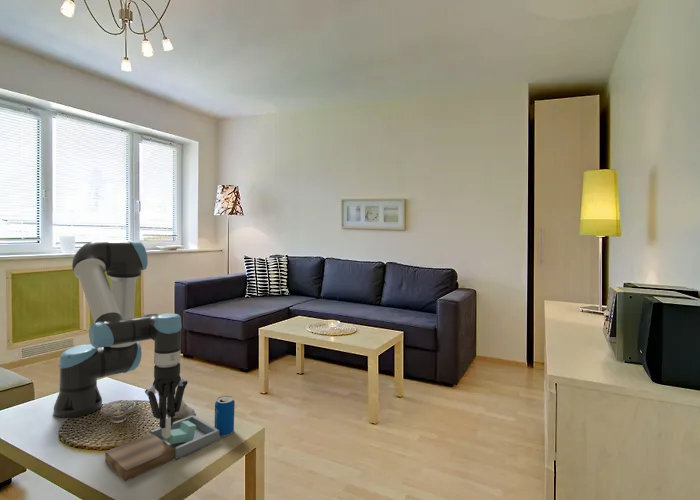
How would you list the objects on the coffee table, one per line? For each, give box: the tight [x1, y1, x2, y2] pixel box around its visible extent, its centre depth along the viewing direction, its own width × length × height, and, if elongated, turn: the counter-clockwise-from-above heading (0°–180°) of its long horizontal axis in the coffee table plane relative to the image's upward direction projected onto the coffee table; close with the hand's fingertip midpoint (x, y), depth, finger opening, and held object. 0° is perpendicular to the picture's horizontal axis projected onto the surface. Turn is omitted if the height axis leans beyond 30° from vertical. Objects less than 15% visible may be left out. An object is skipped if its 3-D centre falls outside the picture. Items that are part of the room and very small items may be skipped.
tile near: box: [163, 429, 187, 444], centre depth 128 cm, size 5×5×2 cm
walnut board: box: [104, 433, 175, 482], centre depth 120 cm, size 14×14×3 cm
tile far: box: [180, 421, 196, 442], centre depth 131 cm, size 5×5×2 cm
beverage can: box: [213, 395, 236, 437], centre depth 137 cm, size 6×6×12 cm
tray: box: [150, 415, 220, 461], centre depth 131 cm, size 16×15×4 cm
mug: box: [166, 399, 197, 419], centre depth 147 cm, size 8×10×10 cm
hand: (166, 436), depth 126 cm, fingers closed
